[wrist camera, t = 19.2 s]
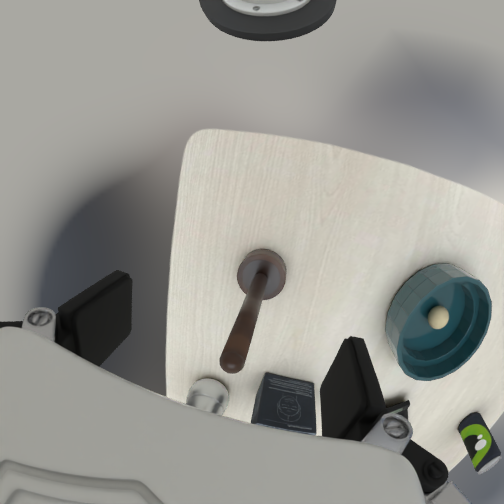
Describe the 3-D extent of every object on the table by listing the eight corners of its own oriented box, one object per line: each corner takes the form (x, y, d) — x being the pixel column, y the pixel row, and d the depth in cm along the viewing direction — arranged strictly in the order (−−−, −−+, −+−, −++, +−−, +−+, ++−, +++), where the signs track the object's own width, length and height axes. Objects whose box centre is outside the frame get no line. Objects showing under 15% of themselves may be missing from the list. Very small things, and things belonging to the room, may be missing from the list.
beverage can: (475, 423, 36) (496, 465, 22) (454, 433, 37) (473, 478, 23) (482, 407, 35) (506, 451, 20) (460, 417, 36) (483, 465, 22)
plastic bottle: (236, 381, 39) (201, 489, 20) (226, 406, 41) (193, 503, 22) (197, 367, 40) (145, 467, 20) (190, 393, 41) (145, 485, 22)
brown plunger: (264, 239, 33) (228, 313, 15) (295, 273, 33) (294, 375, 15) (231, 268, 34) (169, 358, 16) (261, 300, 35) (230, 410, 17)
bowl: (409, 249, 30) (429, 263, 25) (484, 276, 29) (506, 290, 23) (367, 349, 35) (377, 375, 29) (443, 361, 33) (457, 383, 28)
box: (255, 395, 39) (245, 445, 29) (265, 370, 38) (255, 423, 28) (302, 405, 39) (300, 456, 29) (315, 382, 37) (317, 434, 27)
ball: (455, 312, 29) (440, 299, 31) (448, 318, 27) (432, 303, 29) (443, 330, 30) (429, 316, 32) (435, 336, 29) (420, 321, 31)
